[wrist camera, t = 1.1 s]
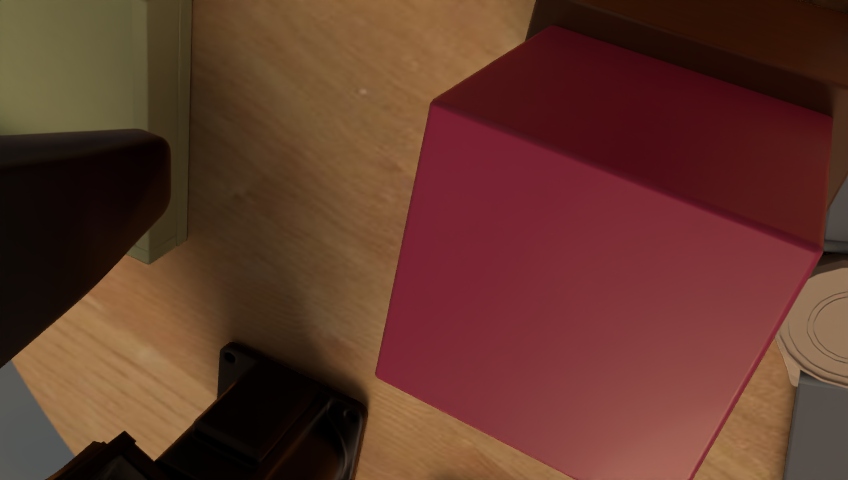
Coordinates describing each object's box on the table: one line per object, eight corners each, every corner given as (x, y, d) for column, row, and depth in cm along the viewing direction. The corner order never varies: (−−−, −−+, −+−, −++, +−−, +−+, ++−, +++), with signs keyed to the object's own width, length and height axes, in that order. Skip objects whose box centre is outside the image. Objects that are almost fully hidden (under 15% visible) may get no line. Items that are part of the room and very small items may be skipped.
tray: (187, 240, 29) (149, 265, 27) (4, 159, 31) (-41, 177, 30) (193, -31, 24) (146, -20, 22) (-29, -105, 26) (-87, -101, 24)
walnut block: (763, 247, 20) (734, 377, 15) (551, 164, 22) (465, 258, 17) (880, 23, 17) (891, 99, 12) (619, -53, 18) (538, -13, 14)
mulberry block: (715, 346, 15) (665, 528, 11) (487, 247, 16) (371, 378, 13) (836, 116, 12) (826, 249, 8) (551, 22, 14) (428, 98, 10)
